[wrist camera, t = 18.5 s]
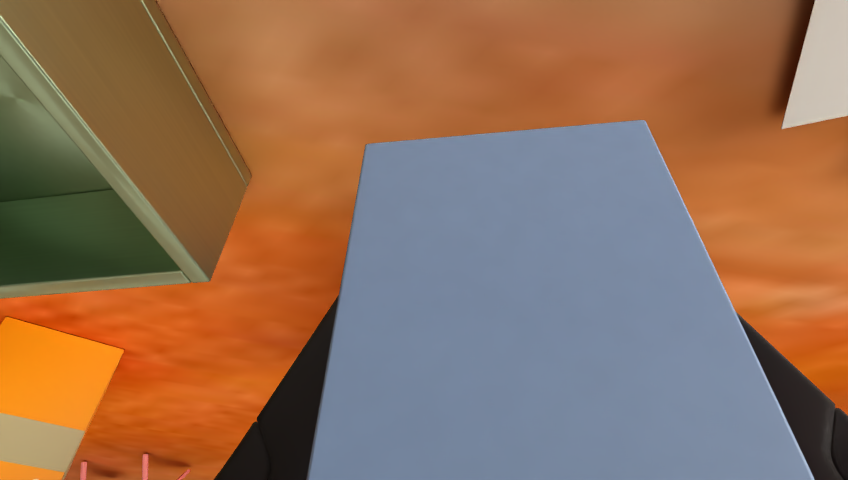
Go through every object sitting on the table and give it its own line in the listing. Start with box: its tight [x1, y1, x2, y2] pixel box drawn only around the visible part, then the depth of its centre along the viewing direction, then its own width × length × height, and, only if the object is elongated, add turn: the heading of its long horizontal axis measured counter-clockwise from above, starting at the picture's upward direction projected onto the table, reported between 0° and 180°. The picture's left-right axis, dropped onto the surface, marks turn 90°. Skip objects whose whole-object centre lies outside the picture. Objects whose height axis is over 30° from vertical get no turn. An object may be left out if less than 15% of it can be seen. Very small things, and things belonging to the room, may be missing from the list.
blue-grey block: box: [306, 120, 815, 480], centre depth 8 cm, size 5×5×6 cm
